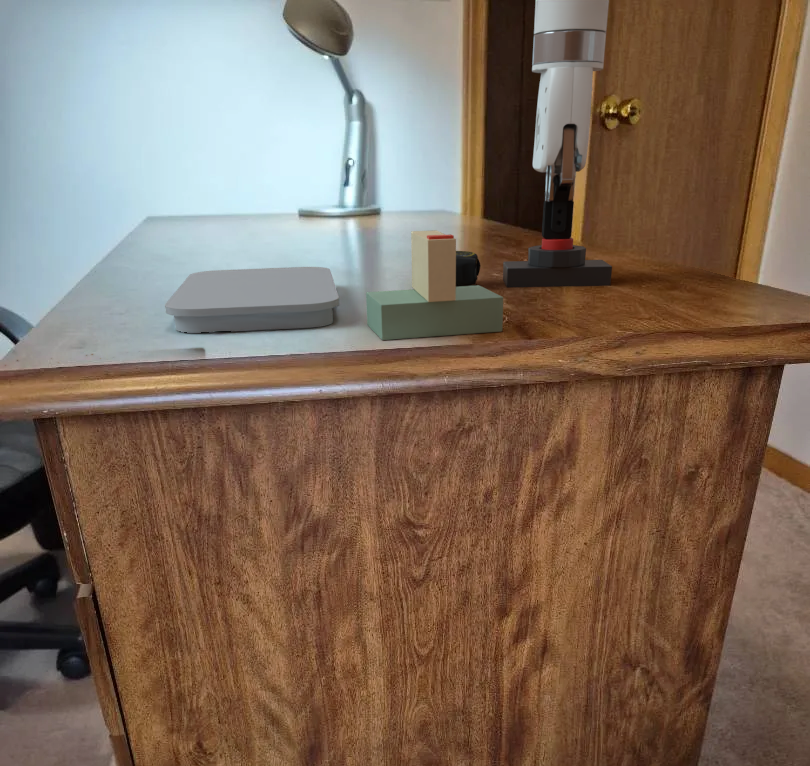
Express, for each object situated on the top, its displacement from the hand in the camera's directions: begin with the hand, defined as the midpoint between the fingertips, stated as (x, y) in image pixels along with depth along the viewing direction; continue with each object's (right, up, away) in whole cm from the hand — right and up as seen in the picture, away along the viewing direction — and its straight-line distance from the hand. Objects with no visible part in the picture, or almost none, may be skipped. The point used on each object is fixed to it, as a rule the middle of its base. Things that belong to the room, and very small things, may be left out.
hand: (556, 238), depth 92 cm
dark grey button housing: (0, -5, +2) cm, 5 cm away
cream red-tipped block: (-15, -13, -21) cm, 29 cm away
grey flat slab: (-33, -11, -8) cm, 36 cm away
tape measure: (-12, -6, +1) cm, 13 cm away
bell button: (0, -2, +1) cm, 2 cm away
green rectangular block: (-15, -16, -20) cm, 29 cm away
